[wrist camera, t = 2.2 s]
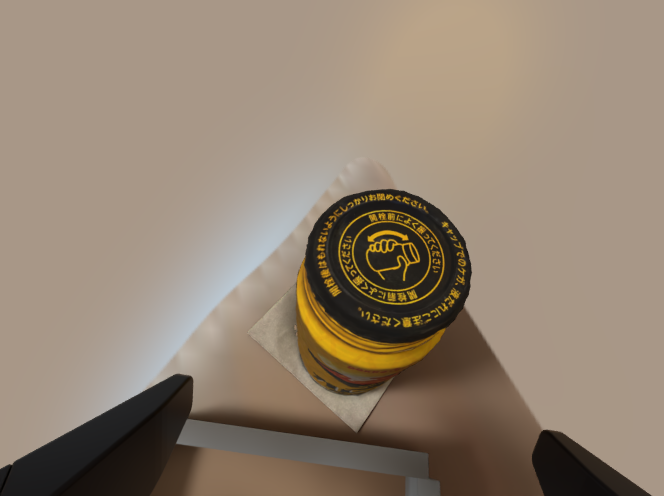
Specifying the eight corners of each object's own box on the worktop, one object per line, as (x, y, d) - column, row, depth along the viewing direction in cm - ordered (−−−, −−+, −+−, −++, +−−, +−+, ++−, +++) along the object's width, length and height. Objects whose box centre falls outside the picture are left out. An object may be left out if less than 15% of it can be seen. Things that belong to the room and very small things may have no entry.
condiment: (356, 433, 18) (429, 431, 8) (247, 333, 20) (188, 225, 10) (424, 332, 21) (542, 232, 11) (323, 255, 23) (339, 110, 13)
